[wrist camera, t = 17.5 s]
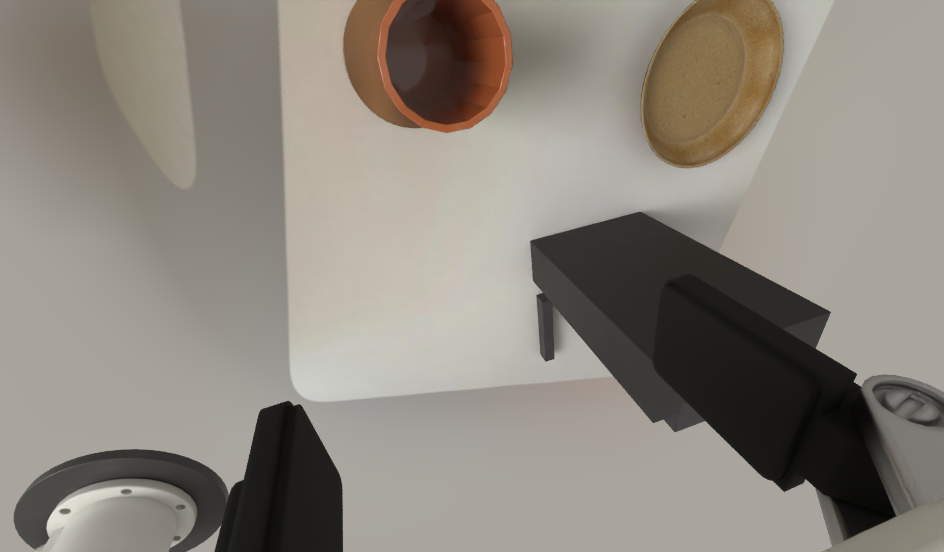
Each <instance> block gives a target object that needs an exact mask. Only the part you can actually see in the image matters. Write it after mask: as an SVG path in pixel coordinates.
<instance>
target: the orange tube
mask: <svg viewBox="0 0 944 552" xmlns="http://www.w3.org/2000/svg"><path fill="white" fill-rule="evenodd" d="M366 60H367V66H368V69H369V72H370V76H371V78H372V80H373V81H374V83H375V84H376V86H377V87H378V89H379V90H380V92H381V93H382V94H383V95H384V96H385V97H386V98H387V99H388V100H389V101H390V102H391V103H392V104H393V105H394V106H395V107H396V108H397V109H398V110H399V111H400V112H401V113H403V114H404V115H405V116H407V117H408V118H410V119H411V120H412V121H414V122H415V123H417V124H418V125H419V126H421V127H423V128H426V129H431V130H435V131H440V132H445V133H449V132H454V131H459V130H464V129H469V128H471V127H473V126H474V125H476V124H477V123H479V122H480V121H481V120H483V119H484V118H486V117H487V116H489V115H490V114H491V113H492V112H493V110H494V109H495V107H496V106H497V104H498V103H499V101H500V100H501V98H502V97H503V95H504V94H505V92H506V89H507V85H508V81H509V77H510V73H511V69H512V65H513V64H512V63H513V58H512V45H511V34H510V31H509V29H508V26H507V24H506V22H505V19H504V17H503V15H502V12H501V10H500V8H499V6H498V4H497V3H496V2H495V1H494V0H392V1H391V2H390V3H389V4H388V5H387V7H386V8H385V9H384V10H383V11H382V12H381V13H380V14H379V15H378V17H377V18H376V20H375V22H374V24H373V25H372V27H371V29H370V31H369V33H368V37H367V43H366Z"/></svg>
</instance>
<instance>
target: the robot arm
mask: <svg viewBox="0 0 944 552" xmlns="http://www.w3.org/2000/svg"><path fill="white" fill-rule="evenodd" d="M653 367H654V369H655V371H656V372H657V374H658V375H659V376H660V377H661V378H662V379H663V380H664V381H665V382H666V383H667V384H668V385H669V386H670V387H671V388H672V389H673V390H674V391H675V392H676V393H678V394H679V395H680V396H681V397H682V398H683V399H684V400H685V401H686V402H687V403H688V404H689V405H690V406H691V407H692V408H693V409H694V410H695V411H696V412H697V413H698V414H699V415H700V416H701V417H702V418H703V419H704V420H705V421H706V422H707V423H708V424H709V425H710V426H711V427H712V428H713V429H714V430H715V431H716V432H717V433H718V434H720V436H721V437H722V438H724V440H725V441H727V443H728V444H730V445H731V447H733V448H734V449H735V450H736V451H737V452H738V453H739V454H740V455H741V456H742V457H743V458H744V459H745V460H746V461H747V462H748V463H749V464H750V465H751V466H752V467H753V468H754V469H755V470H756V471H757V472H758V473H759V474H760V475H761V476H763V477H764V478H766V479H768V480H772V481H773V482H775V483H776V484H777V485H778V486H779V487H780V488H781V489H782V490H783V491H784V492H785V491H787V490H789V489H791V488H794V487H796V486H798V485H800V484H802V483H804V481H805V479H806V480H807V481H809V482H810V483H811V484H812V485H813V486H814V487H815V488H816V491H817V495H818V498H819V502H820V505H821V509H822V513H823V516H824V519H825V523H826V527H827V530H828V534H829V537H830V541H831V544H832V547H831V548H829V549H827V550H825V551H823V552H944V392H942V391H940V390H938V389H936V388H934V387H932V386H930V385H928V384H925V383H923V382H920V381H917V380H914V379H910V378H906V377H901V376H896V375H878V376H872V377H870V378H868V379H867V380H865V381H864V383H863V385H862V387H861V386H859V385H857V384H856V383H854V380H855V378H856V375H857V374H856V373H855V372H853V371H851V370H850V369H848V368H847V367H845V366H843V365H842V364H840V363H838V362H836V361H835V360H833V359H832V358H830V357H828V356H827V355H825V354H823V353H822V352H820V351H818V350H817V349H815V348H813V347H812V346H810V345H808V344H807V343H805V342H803V341H802V340H800V339H798V338H797V337H795V336H794V335H792V334H790V333H789V332H787V331H785V330H784V329H782V328H780V327H779V326H777V325H775V324H774V323H772V322H770V321H769V320H767V319H765V318H764V317H762V316H760V315H759V314H757V313H755V312H754V311H752V310H750V309H749V308H747V307H745V306H744V305H742V304H740V303H739V302H737V301H736V300H734V299H732V298H731V297H729V296H727V295H726V294H724V293H722V292H721V291H719V290H717V289H716V288H714V287H712V286H711V285H709V284H707V283H706V282H704V281H702V280H701V279H699V278H697V277H696V276H694V275H692V274H686V275H682V276H679V277H676V278H673V279H670V280H668V281H666V283H665V285H664V287H663V288H662V289H661V293H660V301H659V310H658V318H657V327H656V335H655V344H654V352H653ZM342 508H343V506H342V482H341V478H340V475H339V473H338V471H337V469H336V467H335V465H334V463H333V462H332V460H331V458H330V456H329V454H328V453H327V451H326V449H325V447H324V445H323V443H322V442H321V440H320V438H319V436H318V434H317V432H316V431H315V429H314V427H313V425H312V424H311V422H310V420H309V418H308V416H307V414H306V413H305V411H304V409H303V407H302V406H301V405H300V404H298V405H295V406H293V404H292V403H291V402H290V401H286V402H283V403H280V404H277V405H273V406H270V407H267V408H264V409H262V410H261V411H260V412H259V415H258V419H257V424H256V429H255V433H254V437H253V442H252V446H251V451H250V455H249V459H248V463H247V468H246V472H245V477H244V480H242V481H239V482H237V483H236V484H235V485H234V486H233V487H232V489H231V492H230V494H229V497H228V501H227V505H226V509H225V513H224V517H223V521H222V525H221V529H220V533H219V537H218V540H217V544H216V548H215V552H343V509H342ZM196 517H197V507H196V504H195V502H194V500H193V499H192V498H191V497H190V495H188V494H187V493H186V492H184V491H183V490H182V489H180V488H178V487H176V486H173V485H171V484H168V483H164V482H161V481H156V480H150V479H138V478H128V479H115V480H108V481H103V482H99V483H95V484H91V485H89V486H86V487H83V488H81V489H78V490H77V491H75V492H73V493H71V494H69V495H68V496H67V497H65V498H64V499H63V500H62V501H60V502H59V504H58V505H57V506H56V508H55V509H54V511H53V512H52V514H51V516H50V517H49V519H48V521H47V528H46V529H47V533H48V536H49V537H50V538H49V540H48V541H47V543H46V544H44V545H41V546H40V547H38V548H37V549H36V550H35V551H34V552H169V549H170V548H171V547H173V546H175V545H176V544H178V543H179V542H181V541H182V540H183V539H185V538H186V537H187V535H188V534H189V533H190V532H191V530H192V528H193V526H194V524H195V521H196Z"/></svg>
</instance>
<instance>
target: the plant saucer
mask: <svg viewBox="0 0 944 552" xmlns="http://www.w3.org/2000/svg"><path fill="white" fill-rule="evenodd" d="M783 44H784V40H783V27H782V23H781V19H780V17H779V13H778V11H777V9H776V7H775V5H774V3H773V2H772V1H771V0H696V1H694V2H693V3H692V4H691V5H689V6H688V7H687V8H686V9H685V10H684V11H683V12H682V13H681V14H680V15H679V16H678V17H677V19H676V20H675V21H674V22H673V24H672V25H671V26H670V28H669V29H668V30H667V32H666V33H665V35H664V36H663V38H662V39H661V41H660V43H659V45H658V46H657V48H656V50H655V52H654V54H653V56H652V59H651V61H650V64H649V66H648V69H647V72H646V75H645V79H644V83H643V88H642V94H641V120H642V126H643V130H644V134H645V137H646V139H647V142H648V144H649V146H650V147H651V149H652V150H653V152H654V153H655V154H656V155H657V156H658V157H659V158H660V159H661V160H662V161H664V162H665V163H667V164H669V165H672V166H674V167H679V168H695V167H699V166H703V165H706V164H708V163H711V162H713V161H715V160H717V159H719V158H721V157H722V156H724V155H725V154H727V153H728V152H730V151H731V150H732V149H733V148H734V147H736V146H737V145H738V144H739V143H740V142H741V141H742V140H743V139H744V138H745V137H746V136H747V135H748V134H749V132H750V131H751V130H752V129H753V127H754V126H755V125H756V123H757V122H758V120H759V119H760V117H761V116H762V114H763V112H764V111H765V109H766V107H767V105H768V103H769V101H770V99H771V97H772V95H773V92H774V90H775V87H776V83H777V80H778V77H779V74H780V69H781V64H782V59H783Z"/></svg>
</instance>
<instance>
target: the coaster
mask: <svg viewBox="0 0 944 552" xmlns="http://www.w3.org/2000/svg"><path fill="white" fill-rule="evenodd" d="M391 1H392V0H357V2H356V3H355V5H354V6H353V8H352V10H351V12H350V15H349V17H348V20H347V23H346V27H345V32H344V38H343V53H344V61H345V66H346V70H347V73H348V76H349V79H350V81H351V83H352V86H353V88H354V89H355V91H356V93H357V94H358V96H359V97H360V99H361V100H362V101H363V102H364V104H365V105H366V106H367V107H368V108H369V109H370V110H371V111H372V112H374V113H375V114H376V115H377V116H379V117H380V118H382V119H384V120H385V121H387V122H390V123H392V124H394V125H398V126H401V127H407V128H422V127H421V126H419V125H418V124H417V123H415V122H414V121H412V120H411V119H410V118H408V117H407V116H405V115H404V114H403V113H401V112H400V111H399V110H398V109H397V108H396V107H395V106H394V105H393V104H392V103H391V102H390V101H389V100H388V99H387V98H386V97H385V96H384V95H383V94H382V93H381V92H380V90H379V89H378V87H377V86H376V84H375V83H374V81H373V80H372V78H371V76H370V72H369V69H368V66H367V60H366V43H367V37H368V33H369V31H370V29H371V27H372V25H373V24H374V22H375V20H376V18H377V17H378V15H379V14H380V13H381V12H382V11H383V10H384V9H385V8H386V7H387V5H388V4H389V3H390V2H391Z"/></svg>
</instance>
